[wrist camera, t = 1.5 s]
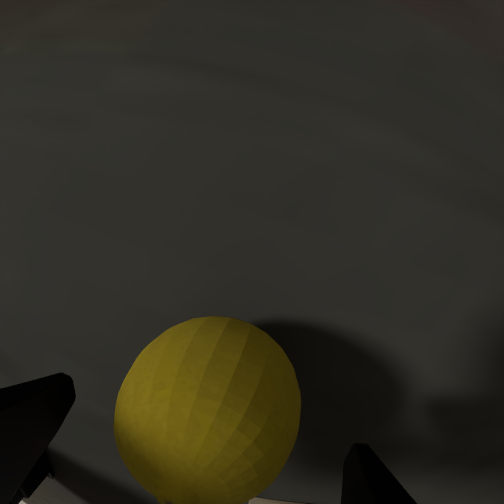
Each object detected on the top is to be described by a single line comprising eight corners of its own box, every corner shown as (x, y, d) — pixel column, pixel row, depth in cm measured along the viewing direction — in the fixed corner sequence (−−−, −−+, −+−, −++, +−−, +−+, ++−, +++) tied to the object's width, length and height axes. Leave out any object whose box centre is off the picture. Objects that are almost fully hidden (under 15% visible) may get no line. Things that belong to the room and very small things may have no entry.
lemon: (330, 347, 12) (346, 518, 5) (242, 416, 14) (198, 560, 6) (228, 255, 12) (119, 371, 5) (150, 342, 14) (44, 461, 6)
